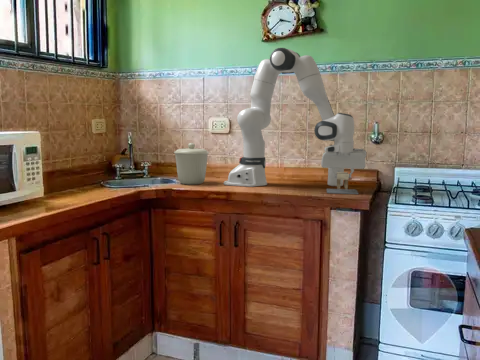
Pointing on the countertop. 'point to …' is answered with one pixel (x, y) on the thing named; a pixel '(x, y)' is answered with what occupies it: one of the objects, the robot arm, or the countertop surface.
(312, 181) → the countertop surface
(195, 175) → the canister
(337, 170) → the pill bottle
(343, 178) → the stool
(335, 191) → the mat
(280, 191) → the countertop surface
